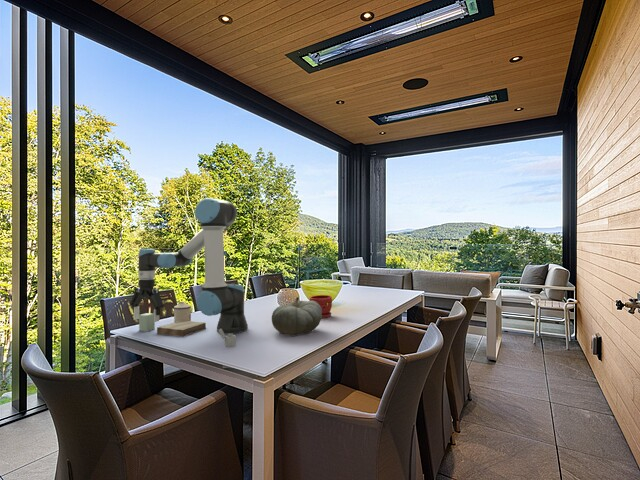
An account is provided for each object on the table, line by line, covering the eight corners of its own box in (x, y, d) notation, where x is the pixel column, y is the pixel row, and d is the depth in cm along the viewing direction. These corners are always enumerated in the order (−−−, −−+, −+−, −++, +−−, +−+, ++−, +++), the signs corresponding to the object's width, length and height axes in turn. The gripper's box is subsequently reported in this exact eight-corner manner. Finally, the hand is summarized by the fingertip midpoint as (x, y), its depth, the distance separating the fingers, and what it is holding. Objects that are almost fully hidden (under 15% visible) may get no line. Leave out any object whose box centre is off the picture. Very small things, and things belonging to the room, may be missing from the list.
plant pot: (318, 313, 213) (318, 294, 213) (336, 316, 206) (336, 295, 206) (305, 317, 203) (305, 296, 203) (323, 320, 195) (323, 298, 195)
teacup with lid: (193, 322, 191) (193, 301, 192) (176, 325, 186) (176, 303, 186) (187, 319, 201) (187, 299, 201) (170, 321, 196) (170, 300, 196)
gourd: (334, 324, 172) (328, 290, 171) (306, 345, 151) (298, 307, 150) (295, 323, 186) (289, 292, 185) (264, 342, 165) (257, 307, 164)
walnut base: (205, 328, 178) (205, 322, 178) (183, 336, 163) (182, 330, 163) (181, 326, 184) (181, 320, 184) (157, 333, 169) (157, 327, 169)
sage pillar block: (154, 329, 178) (154, 313, 178) (146, 331, 173) (146, 315, 173) (147, 328, 180) (147, 313, 180) (139, 330, 175) (139, 314, 175)
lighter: (234, 345, 148) (234, 326, 148) (235, 346, 147) (235, 327, 147) (217, 347, 144) (217, 328, 145) (219, 348, 143) (218, 329, 143)
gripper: (122, 278, 178) (122, 319, 178) (159, 280, 169) (159, 324, 169) (135, 277, 185) (134, 316, 185) (171, 279, 176) (170, 320, 176)
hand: (146, 320), depth 177 cm, fingers open, 13 cm apart
